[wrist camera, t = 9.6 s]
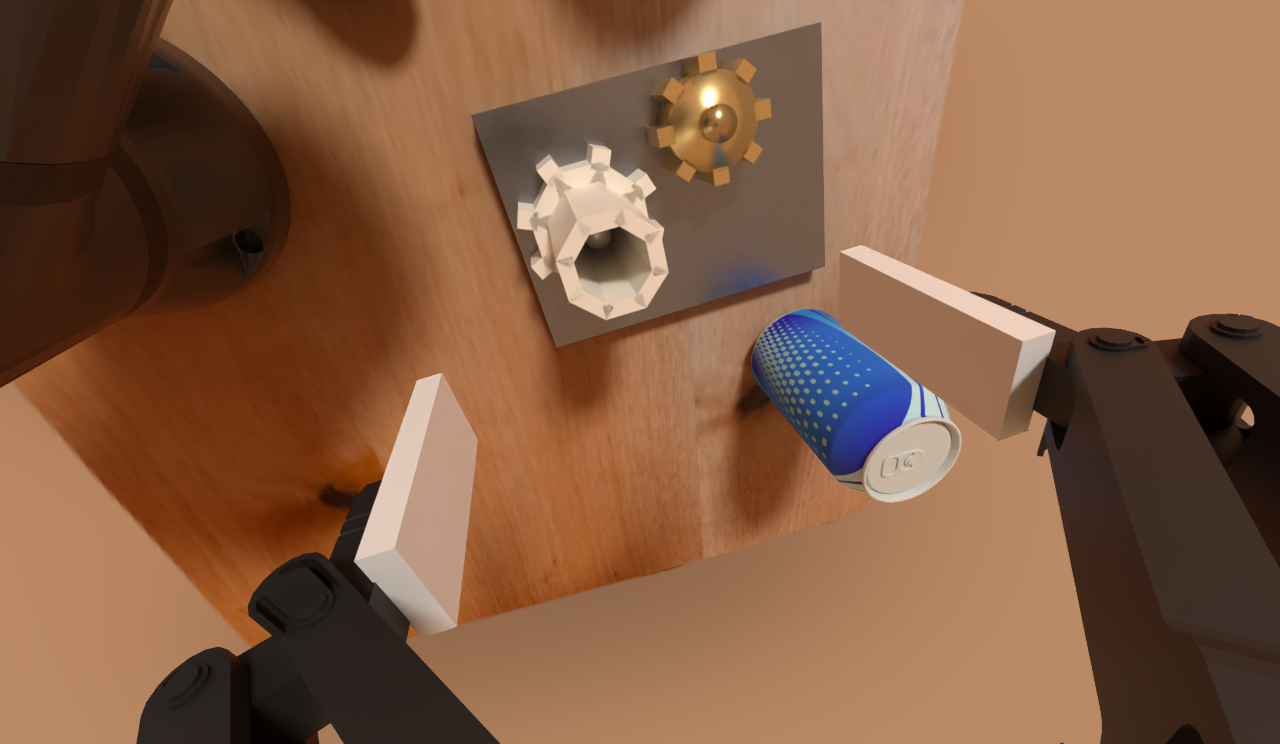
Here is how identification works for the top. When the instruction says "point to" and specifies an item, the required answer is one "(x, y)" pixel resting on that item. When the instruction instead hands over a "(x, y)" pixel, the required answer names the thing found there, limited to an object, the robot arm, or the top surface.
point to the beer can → (855, 407)
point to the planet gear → (588, 206)
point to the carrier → (685, 168)
